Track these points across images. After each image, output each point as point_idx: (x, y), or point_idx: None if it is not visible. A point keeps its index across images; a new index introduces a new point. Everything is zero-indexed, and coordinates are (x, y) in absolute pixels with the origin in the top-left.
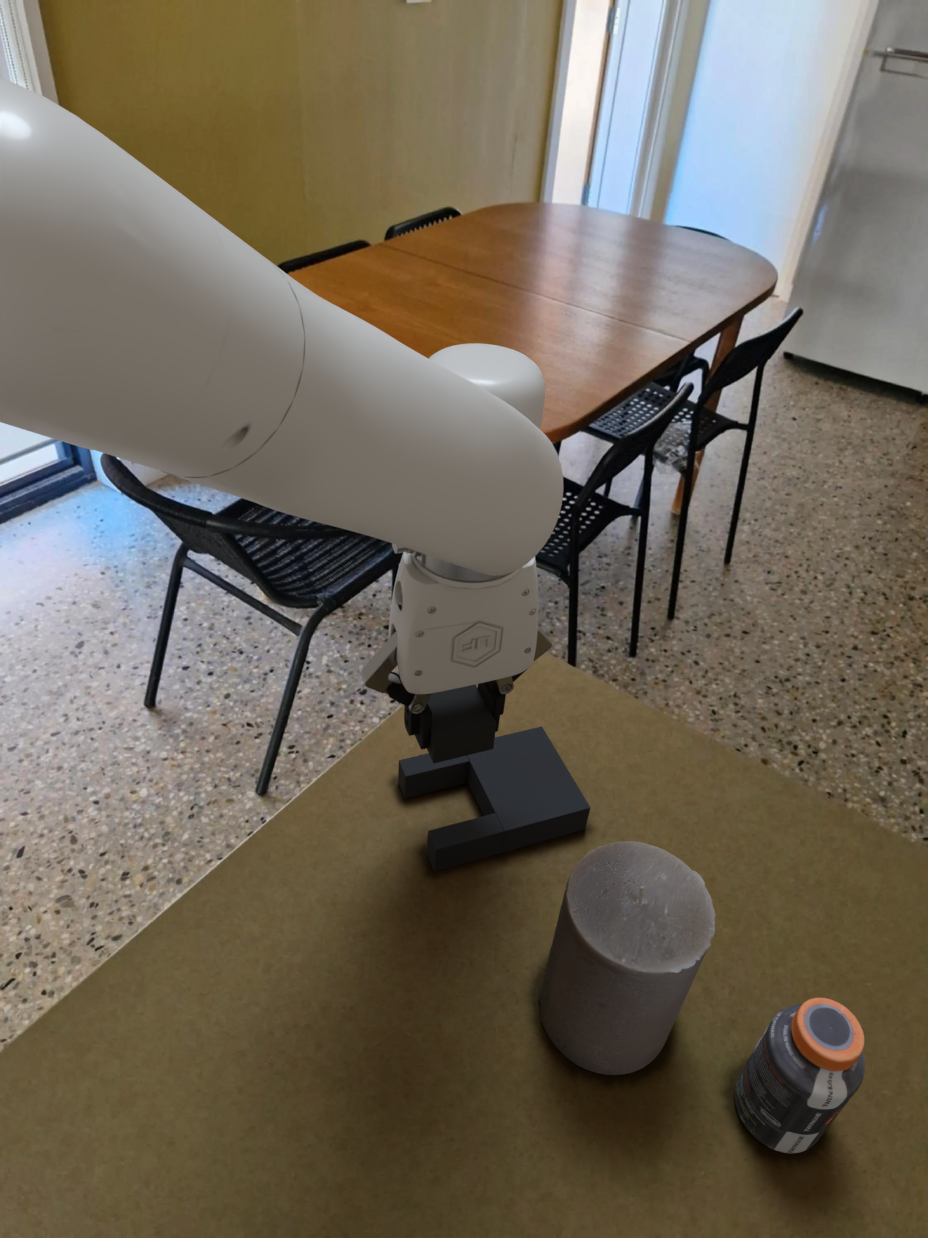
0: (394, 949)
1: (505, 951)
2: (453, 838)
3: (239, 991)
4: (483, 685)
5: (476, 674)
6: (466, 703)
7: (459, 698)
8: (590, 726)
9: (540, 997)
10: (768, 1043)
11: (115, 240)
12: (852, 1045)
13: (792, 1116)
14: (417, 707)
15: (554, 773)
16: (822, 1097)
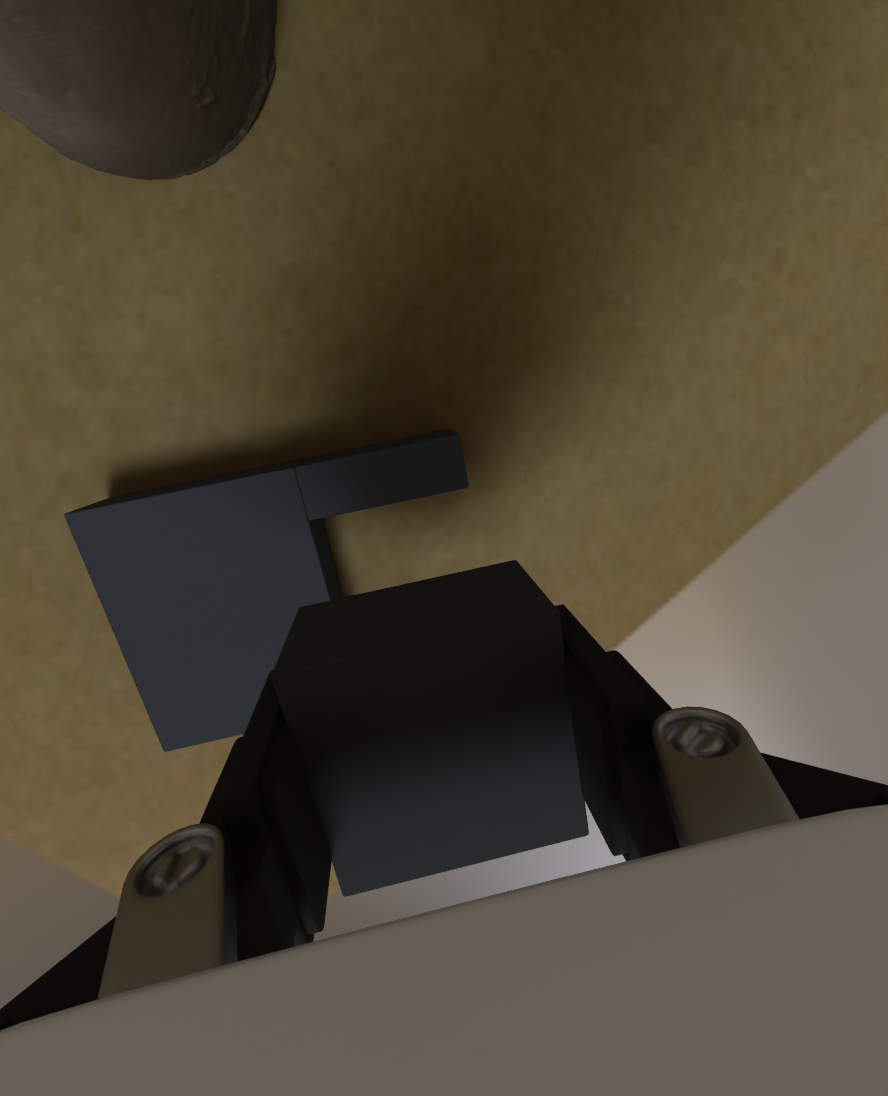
0: (552, 259)
1: (330, 212)
2: (415, 459)
3: (831, 218)
4: (308, 875)
5: (434, 1085)
6: (391, 782)
7: (416, 807)
8: (63, 759)
9: (268, 47)
10: None
11: None
12: None
13: None
14: (697, 739)
15: (147, 620)
16: None
